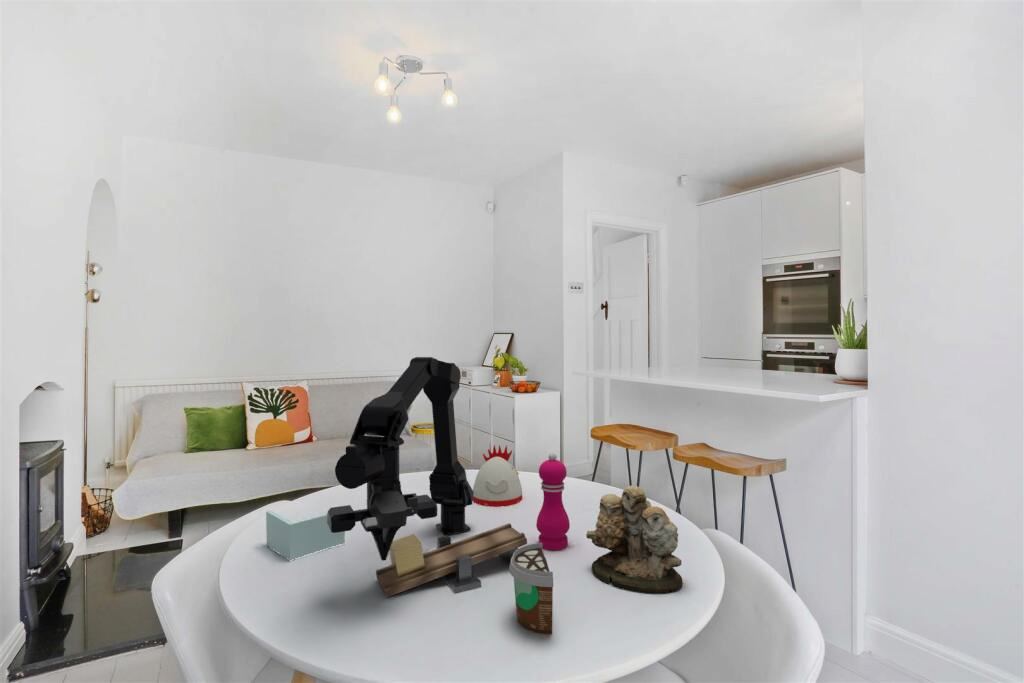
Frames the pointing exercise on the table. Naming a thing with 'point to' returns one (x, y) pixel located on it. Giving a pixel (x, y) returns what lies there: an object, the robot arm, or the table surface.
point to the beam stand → (466, 569)
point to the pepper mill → (553, 506)
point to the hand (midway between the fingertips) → (383, 559)
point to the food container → (532, 588)
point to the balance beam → (453, 558)
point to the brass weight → (406, 556)
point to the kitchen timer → (497, 481)
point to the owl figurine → (636, 544)
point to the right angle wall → (300, 535)
